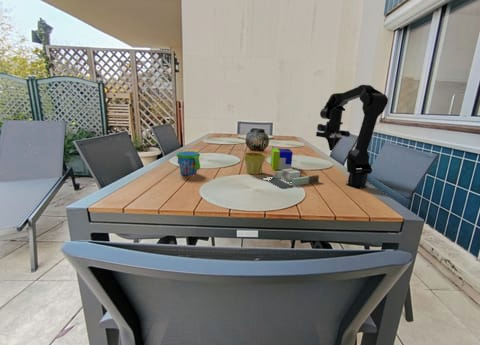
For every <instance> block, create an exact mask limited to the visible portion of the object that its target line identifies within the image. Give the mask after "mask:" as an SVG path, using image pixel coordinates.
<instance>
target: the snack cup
mask: <svg viewBox="0 0 480 345" xmlns="http://www.w3.org/2000/svg"><path fill="white" fill-rule="evenodd" d="M200 155H201V154H200V152H197V151H190V150H187V151H186V150H185V151H179V152H177V153H176V158H177V165H179V169H180V170H179V171H180V174H182V175H184V176H193V175H196V174H197V173H198V172H197V171H199V170H200V168H201V163H200Z"/></svg>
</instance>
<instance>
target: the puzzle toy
mask: <svg viewBox="0 0 480 345" xmlns="http://www.w3.org/2000/svg"><path fill="white" fill-rule="evenodd" d="M292 161H293V151H292V150H291V149H290V148H276V147H275V148H271V155H270V167H271V169H272V170H274V171H275V170H276V171H282V170H284V169H292V164H293V162H292Z"/></svg>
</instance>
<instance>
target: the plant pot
mask: <svg viewBox="0 0 480 345" xmlns="http://www.w3.org/2000/svg"><path fill="white" fill-rule="evenodd" d="M243 156H244V157H243V158H244V162H245V166H246V173H247V174H249V175H259V174H260V173H261V172H262V167H263V164H264V162H265V160H266V159H265V158H266V155H265V153H263V152H256V151H250V152H249V151H248V152H245V153H244V155H243Z"/></svg>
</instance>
